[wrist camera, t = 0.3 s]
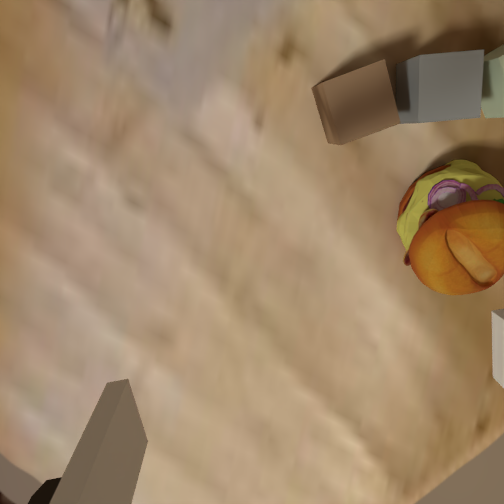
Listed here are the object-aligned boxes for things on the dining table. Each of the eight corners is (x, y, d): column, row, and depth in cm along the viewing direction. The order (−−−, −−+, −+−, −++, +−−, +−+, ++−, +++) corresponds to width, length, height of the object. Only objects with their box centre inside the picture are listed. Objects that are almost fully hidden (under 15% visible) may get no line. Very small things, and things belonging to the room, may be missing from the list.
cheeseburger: (512, 166, 40) (584, 210, 32) (462, 261, 45) (512, 321, 37) (411, 145, 39) (457, 185, 30) (372, 245, 44) (401, 303, 36)
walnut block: (311, 88, 38) (322, 82, 33) (365, 67, 37) (384, 58, 33) (327, 143, 39) (340, 145, 34) (380, 123, 39) (400, 123, 34)
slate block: (395, 64, 37) (419, 54, 33) (452, 59, 38) (484, 49, 33) (395, 123, 39) (418, 122, 34) (449, 118, 39) (480, 117, 34)
